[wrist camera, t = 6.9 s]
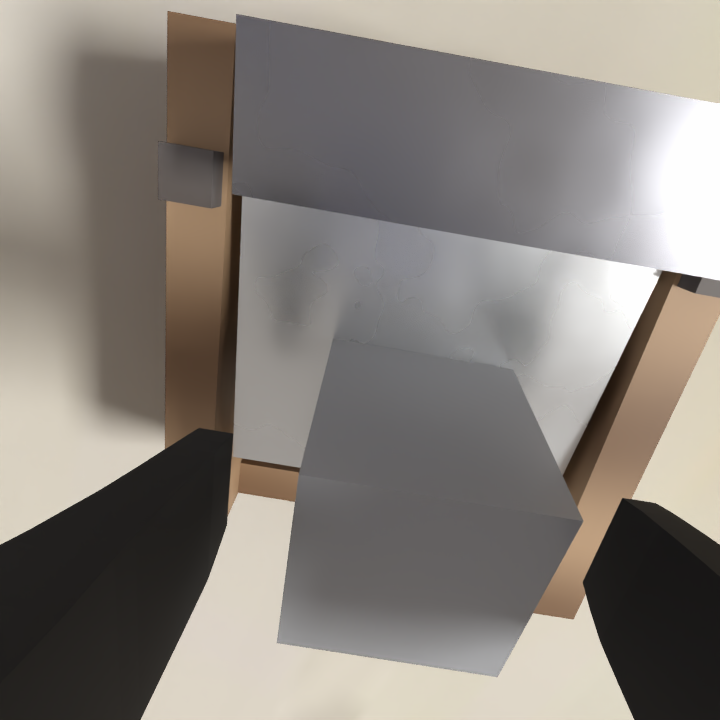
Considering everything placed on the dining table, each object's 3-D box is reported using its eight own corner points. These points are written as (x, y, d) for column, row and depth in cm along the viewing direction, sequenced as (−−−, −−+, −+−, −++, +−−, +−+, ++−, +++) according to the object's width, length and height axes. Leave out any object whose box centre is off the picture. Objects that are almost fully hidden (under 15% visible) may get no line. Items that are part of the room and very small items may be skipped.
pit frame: (249, 71, 13) (151, -1, 8) (647, 144, 14) (838, 126, 8) (225, 445, 18) (154, 572, 12) (520, 494, 18) (581, 639, 13)
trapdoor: (256, 38, 9) (197, 7, 6) (713, 122, 9) (852, 128, 6) (238, 442, 13) (200, 527, 10) (540, 492, 13) (577, 587, 11)
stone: (312, 475, 13) (277, 642, 9) (333, 338, 11) (298, 475, 7) (464, 500, 13) (497, 677, 9) (512, 369, 11) (583, 521, 7)
